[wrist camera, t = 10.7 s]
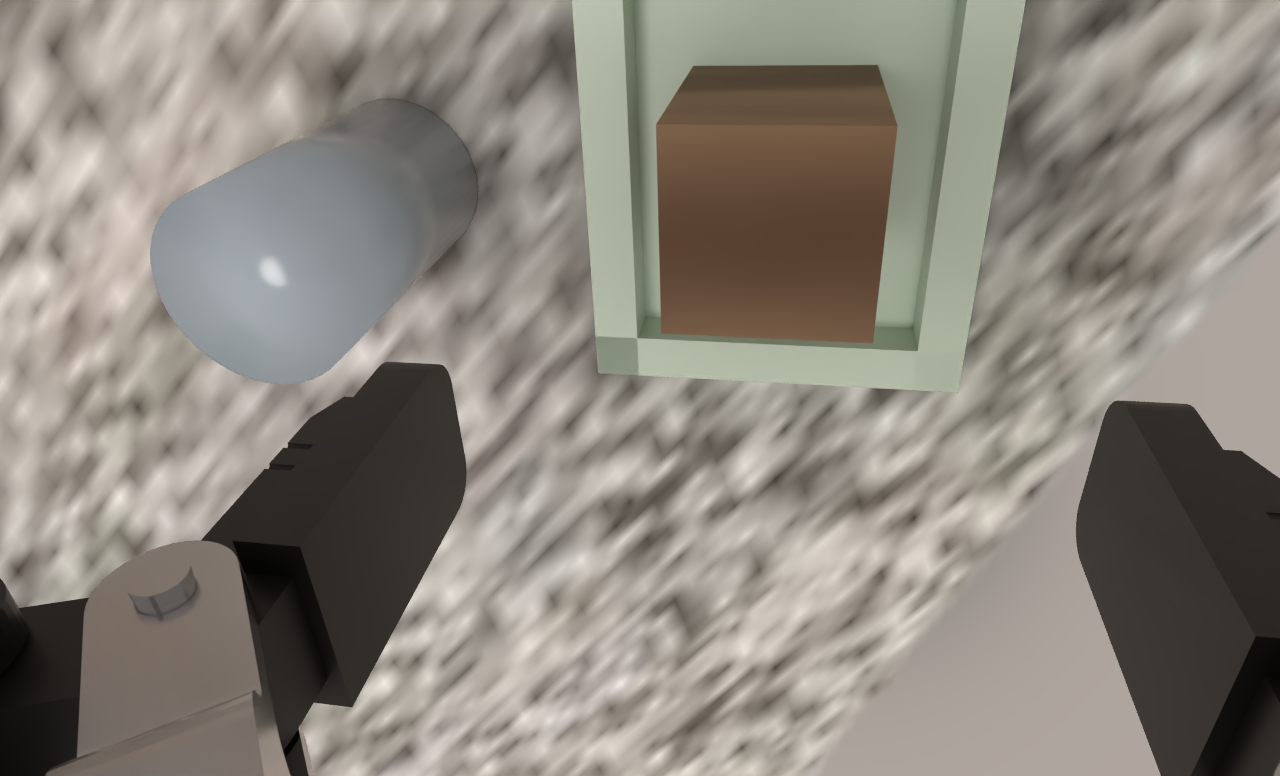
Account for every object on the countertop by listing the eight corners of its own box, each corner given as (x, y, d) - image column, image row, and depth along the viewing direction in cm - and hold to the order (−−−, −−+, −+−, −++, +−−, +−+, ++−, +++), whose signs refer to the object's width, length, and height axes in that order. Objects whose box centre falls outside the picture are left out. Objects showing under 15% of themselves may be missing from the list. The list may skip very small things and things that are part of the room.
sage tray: (585, -103, 21) (564, -101, 19) (1026, -121, 19) (1046, -120, 17) (611, 341, 27) (598, 373, 25) (948, 357, 25) (958, 392, 23)
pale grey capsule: (312, 98, 25) (120, 184, 18) (466, 98, 24) (326, 188, 17) (346, 251, 27) (187, 378, 20) (487, 255, 26) (372, 389, 19)
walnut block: (693, 65, 22) (655, 124, 17) (877, 64, 21) (897, 126, 16) (693, 236, 24) (661, 333, 19) (860, 241, 23) (872, 343, 18)
